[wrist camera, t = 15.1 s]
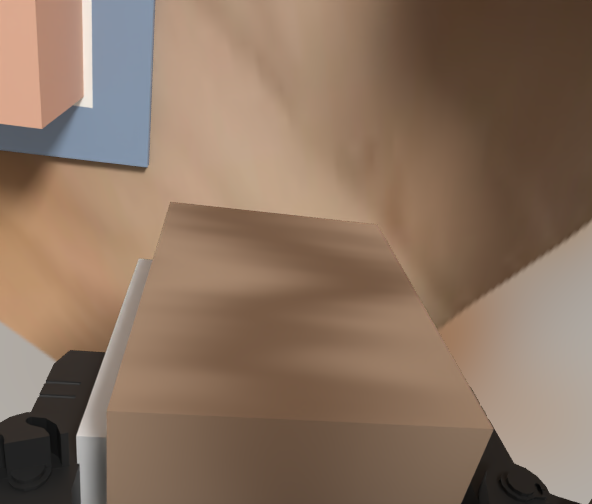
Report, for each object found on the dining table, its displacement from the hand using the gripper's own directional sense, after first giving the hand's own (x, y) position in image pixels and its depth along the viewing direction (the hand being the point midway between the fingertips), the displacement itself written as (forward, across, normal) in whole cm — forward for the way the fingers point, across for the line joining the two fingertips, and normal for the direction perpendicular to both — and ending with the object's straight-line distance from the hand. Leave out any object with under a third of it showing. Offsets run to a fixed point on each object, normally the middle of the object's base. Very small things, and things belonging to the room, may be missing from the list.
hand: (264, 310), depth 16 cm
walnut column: (0, 0, 0) cm, 0 cm away
